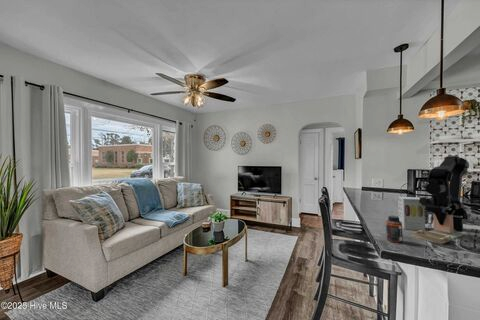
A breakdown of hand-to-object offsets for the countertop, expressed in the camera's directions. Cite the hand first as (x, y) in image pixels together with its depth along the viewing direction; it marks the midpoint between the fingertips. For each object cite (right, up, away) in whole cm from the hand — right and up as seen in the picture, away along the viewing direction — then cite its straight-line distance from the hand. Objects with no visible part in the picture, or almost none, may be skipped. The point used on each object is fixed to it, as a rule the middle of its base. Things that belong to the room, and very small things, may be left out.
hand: (443, 224), depth 102 cm
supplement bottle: (-31, -5, -8) cm, 32 cm away
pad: (0, -5, 0) cm, 5 cm away
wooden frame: (-12, -5, -6) cm, 14 cm away
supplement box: (-6, -6, +11) cm, 14 cm away
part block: (0, -3, 0) cm, 3 cm away
